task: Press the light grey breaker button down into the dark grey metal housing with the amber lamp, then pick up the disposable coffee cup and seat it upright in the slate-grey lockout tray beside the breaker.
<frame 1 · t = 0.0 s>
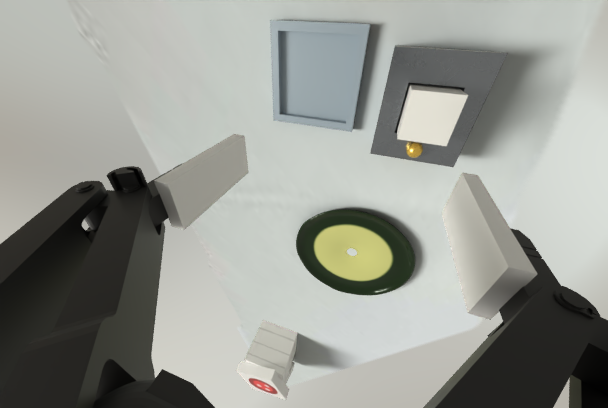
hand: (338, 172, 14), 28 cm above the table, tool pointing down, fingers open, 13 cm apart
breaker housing: (423, 104, 35), on the table
plate: (352, 250, 57), on the table
pizza boxes: (281, 340, 99), on the table
breaker button: (427, 113, 30), point 6 cm above the table, slide at 0.0 cm
lockout tray: (316, 78, 37), on the table
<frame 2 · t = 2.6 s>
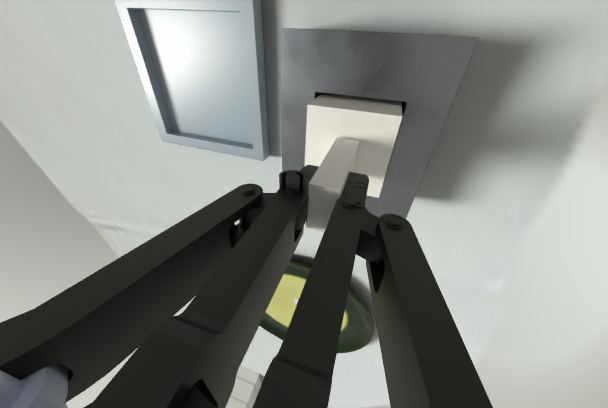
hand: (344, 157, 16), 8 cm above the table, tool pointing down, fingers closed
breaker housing: (359, 123, 22), on the table
plate: (300, 300, 45), on the table
pizza boxes: (244, 377, 87), on the table
breaker button: (351, 141, 18), point 5 cm above the table, slide at 0.8 cm, touching gripper
lockout tray: (205, 82, 25), on the table
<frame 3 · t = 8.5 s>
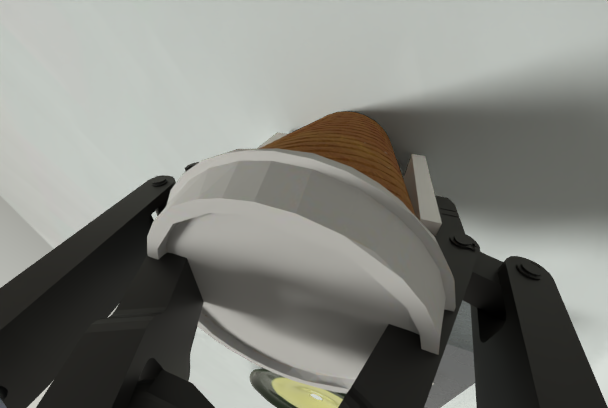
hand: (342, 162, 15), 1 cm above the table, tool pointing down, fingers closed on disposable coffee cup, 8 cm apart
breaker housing: (385, 316, 24), on the table
plate: (317, 393, 47), on the table
disposable coffee cup: (345, 157, 16), on the table, touching gripper
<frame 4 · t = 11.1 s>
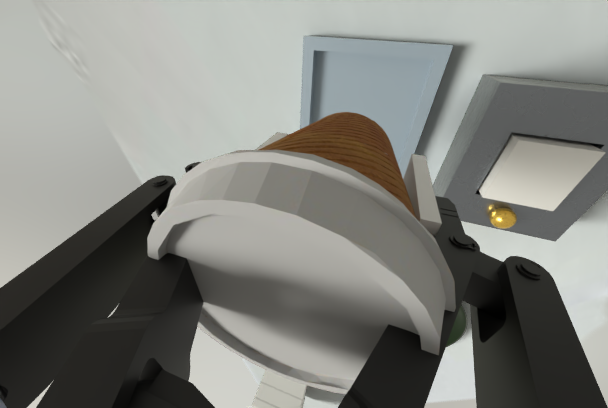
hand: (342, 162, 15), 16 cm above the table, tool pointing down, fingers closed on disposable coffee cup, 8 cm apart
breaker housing: (511, 152, 25), on the table
plate: (383, 303, 48), on the table
pizza boxes: (290, 375, 90), on the table
disposable coffee cup: (345, 157, 16), point 15 cm above the table, touching gripper
breaker button: (523, 164, 23), point 3 cm above the table, slide at 2.4 cm
lockout tray: (360, 112, 28), on the table
when the fingers open (2 cm above the table, at t = 14.1 s): disposable coffee cup drops 1 cm, resting on lockout tray.
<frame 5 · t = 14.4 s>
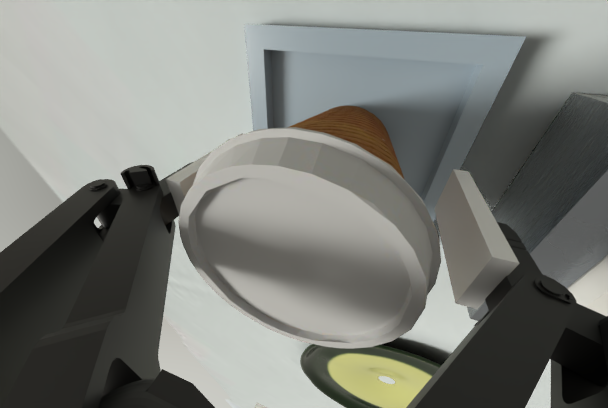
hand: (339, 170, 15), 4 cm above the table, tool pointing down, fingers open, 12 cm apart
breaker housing: (605, 221, 15), on the table
plate: (386, 376, 37), on the table
disposable coffee cup: (346, 148, 17), resting on lockout tray
lockout tray: (348, 148, 17), on the table
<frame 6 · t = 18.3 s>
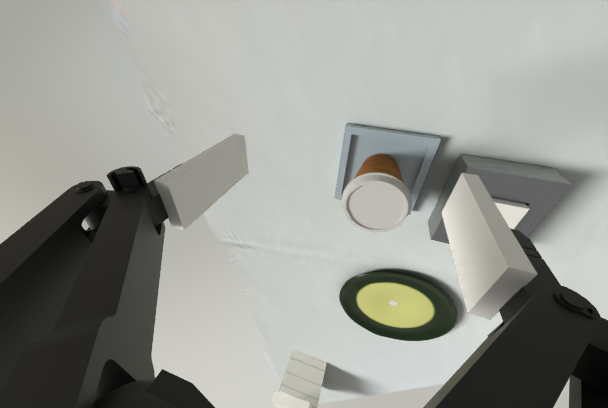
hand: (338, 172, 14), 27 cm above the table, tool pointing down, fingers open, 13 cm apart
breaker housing: (481, 198, 39), on the table
plate: (393, 301, 61), on the table
pizza boxes: (308, 367, 103), on the table
disposable coffee cup: (379, 169, 41), resting on lockout tray
breaker button: (487, 209, 36), point 3 cm above the table, slide at 2.4 cm
lockout tray: (380, 169, 41), on the table
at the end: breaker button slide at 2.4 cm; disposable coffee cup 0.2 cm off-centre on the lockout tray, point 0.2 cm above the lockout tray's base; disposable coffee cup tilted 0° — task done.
